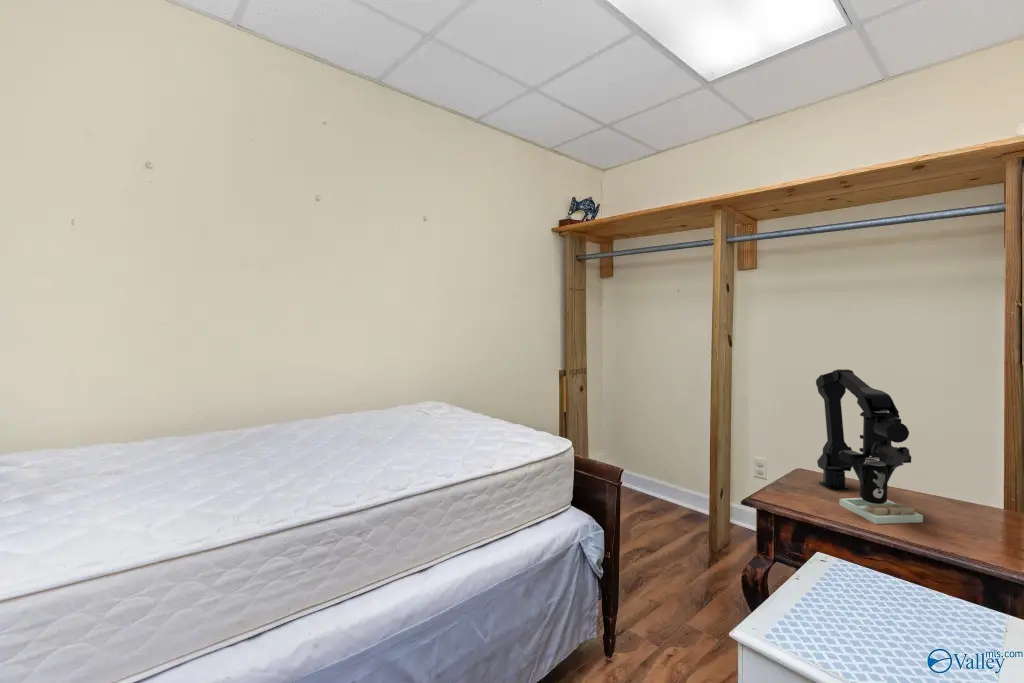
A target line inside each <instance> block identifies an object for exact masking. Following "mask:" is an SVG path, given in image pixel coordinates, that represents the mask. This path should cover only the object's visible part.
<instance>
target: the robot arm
mask: <svg viewBox="0 0 1024 683" xmlns="http://www.w3.org/2000/svg"><path fill="white" fill-rule="evenodd" d="M815 386H816V388H817V392H818V394H819V395H820V396H821V397H822V399H823V402H824V403H823V404H824V414H825V415H824V416H825V425H826V426H825V427H826V428H825V429H826V438H827V441H826V442H825V444H824V446H823V447H822V454H821V455H820V457H819V458H818V459H817V462H816V463H817V467H818V468H820V469H821V470H823V476H822V478H823V481H818V483H819V484H820V485H823V486H824V487H826V488H829V489H830V490H849V489H850V487H849V486H847V485H846V472H851V471H852V469H853V471H854V473H855V475H856V476H857V479H858V480H859V484H860V483H861V484H862V485H865V482H866V469H867V468H868V467H869V466H870V465H867V464H866V460H878V461H882V462H884V463H885V464H886V467H887V468H888V482H889V481H890V478H891V477H892V475H893V473H894V471H895V470H896V469H897V468H899V467H901V466H904V464H908V463H909V464H911V463H912V456H911V454H910V448H908V447H906V446H899V447H897V446H893V444H892V442H893V443H903V442H904V441H906V440H907V439H908V438H909V435H910V431H909V428H908V426H907V425H905V424H903V422H902V419H901V418H900V414H899V413H900V412H899V410H898V408H897V407H896V404H895V403H894V399H892V396H891V395H890V394H888V393H887V392H885V391H883V390H880V389H877V388H873V387H871V386H870V385H868V383H866V382H865V381H863V380H862V378H860V377H858V376H857V375H856V374H855V373H854V371H853V370H851V369H847V368H845V369H842V368H841V369H838V368H837V369H836V370H835V369H834V370H833V371H831V372H828V373H824V374H820V375H819V377H817V378H816V380H815ZM846 390H848V391H849V393H851V394H852V395H853V396H854V397H855V398H856V399H857V400H856V403H857V405H858V406H859V407H860V409H861V410H862V412H861V413H859V416H860V417H863V420H862V421H863V423H862V424H863V428H862V429H863V431H862V432H863V433H862V434H859V439H861V440H862V447H859V452H857V451H855V450H853V449H852V447H851V446H848V445H847V443H846V442H845V434H844V423H843V422H844V421H843V409H842V399H843V397H844V396H845V394H846ZM860 452H861V453H860Z"/></svg>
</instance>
